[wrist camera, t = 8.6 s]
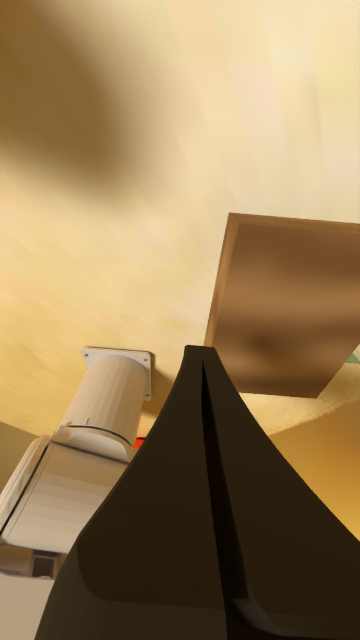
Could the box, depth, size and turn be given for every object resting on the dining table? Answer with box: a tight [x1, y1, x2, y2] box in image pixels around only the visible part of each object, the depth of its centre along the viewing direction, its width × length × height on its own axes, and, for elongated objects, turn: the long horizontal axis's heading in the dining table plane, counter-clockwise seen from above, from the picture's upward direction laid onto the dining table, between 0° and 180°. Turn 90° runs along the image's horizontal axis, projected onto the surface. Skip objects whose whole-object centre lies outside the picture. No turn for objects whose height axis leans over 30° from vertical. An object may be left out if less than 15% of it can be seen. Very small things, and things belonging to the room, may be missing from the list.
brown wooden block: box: [204, 213, 360, 399], centre depth 18 cm, size 16×12×4 cm
